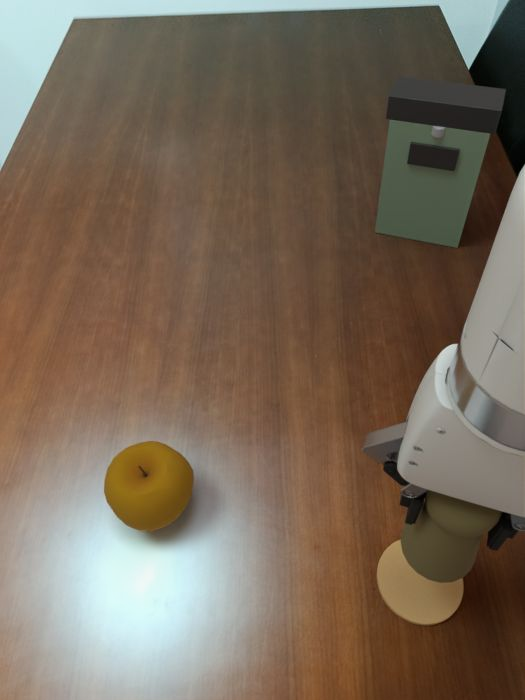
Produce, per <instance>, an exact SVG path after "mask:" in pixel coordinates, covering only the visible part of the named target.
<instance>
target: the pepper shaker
mask: <svg viewBox="0 0 525 700" xmlns="http://www.w3.org/2000/svg"><path fill="white" fill-rule="evenodd" d="M501 515H502V511H499V510H495V509H492V508H488V507H485V506H481V505H478V504H474V503H471V502H468V501H464V500H461V499H457V498H454V497H451V496H447V495H444V494H441V493H437V492H434V491H431V490H428V491H426V493H425V498H424V503H423V506H422V509H421V511H420V514H419V516H418V518H417V521H416V523H415V524H413V523H412V525H410V524H407V523H405V524H404V526H403V527H402V529H401V535H400V539H401V541H400V542H401V547H402V552H403V554H404V556H405V558H406V560H407V562H408V564H409V565H410V566H411V567H412V568H413V569H414V570H415V571H416V572H417V573H418V574H420V575H421V576H423V577H425V578H426V579H428V580H432V581H435V582H439V583H446V582H454V581H456V580H459V579H461V578H463V579H464V577H466V576H467V574H468V573H470V571H471V570H472V568H473V566H474V564H475V562H476V559H477V556H478V552H479V548H480V546H481V543H482V538H483V535H484V534H486V533H487V534H488V532H489V531H490V530H491V529H492V528H493V527H494V526H495V525H496V524H497V523H498V521H499V519H500V517H501Z"/></svg>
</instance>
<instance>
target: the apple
mask: <svg viewBox="0 0 525 700" xmlns="http://www.w3.org/2000/svg"><path fill="white" fill-rule="evenodd" d="M194 478H195V476H194V469H193V467H192V465H191V463H190V462H189V460H188V459H187V458H186V457H185V456H184V455H183V454H182V453H180V452H179V451H177V450H176V449H175V448H173V447H172V446H169V445H168V444H166V443H163V442H160V441H158V440H157V441H156V440H147V441H140V442H137V443H134V444H132V445H130V446H127V447H125V448H124V449H122V450H121V451H119V452H118V453H117V454H116V455H115V456H114V457H113V458H112V460H111V461H110V463H109V465H108V467H107V469H106V473H105V476H104V481H103V482H104V483H103V493H104V497H105V500H106V503H107V504H108V506H109V507H110V509H111V510H112V512H113V513H114V515H115V516H116V518H117V519H119V521H121V522H122V523H123V524H124V525H125V526H127V527H129V528H131V529H133V530H136V531H141V532H154V531H157V530H160V529H163V528H165V527H167V526H170V525H171V524H172V523H174V522H175V521H176V520H177V519H178V518H179V517H180V516H181V515H182V514H183V512H184V510H185V509H186V508H187V506H188V504H189V502H190V500H191V497H192V494H193V488H194V480H195V479H194Z"/></svg>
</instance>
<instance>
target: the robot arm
mask: <svg viewBox="0 0 525 700" xmlns="http://www.w3.org/2000/svg"><path fill="white" fill-rule="evenodd" d="M361 452H362V453H363V454H364V455H366V456H367V457H368V458H369V459H370V460H372V461H374V462H375V463H376V464H377V465H380V464H381V465H382V466H383V467H382V470H383V472H384V473H385V474H386V475H388V476H389V477H390V478H392V480H394V481H395V482H396V483H397V484H399V485H400V486H401V487H400V492H399V493H400V498H399V499H400V501H399V506H402V507H404V508H407V510H406V515H405V520H404V523H405V524H406V523H407V524H410V525H412V523H413V524H415V523H416V521H417V518H418V516H419V514H420V511H421V509H422V506H423V503H424V501H425V493H426V491H428V490H431V491H434V492H437V493H441V494H444V495H447V496H451V497H454V498H457V499H461V500H464V501H468V502H471V503H474V504H478V505H481V506H485V507H488V508H492V509H495V510H499V511H502V515H501V517H500V519H499V521H498V523H497V524H496V525H495V526H494V527H493V528H492V529H491V530H490V531H489V532H487V536H486V547H488V549H489V550H492V551H495V552H498V550H499V549H500V548H501V547H502V546H503V544H504V543H505V542H506V541H507V539H511V540H513V539H514V537H515V536H516V535H517V534H518V533H519V531H520V532H525V164H523V166H522V168H521V170H520V171H519V173H518V176H517V178H516V180H515V183H514V185H513V188H512V190H511V192H510V195H509V198H508V201H507V204H506V207H505V210H504V213H503V215H502V218H501V221H500V224H499V227H498V229H497V232H496V235H495V238H494V241H493V244H492V247H491V249H490V253H489V255H488V258H487V260H486V264H485V267H484V269H483V273H482V274H481V278H480V280H479V283H478V286H477V289H476V292H475V295H474V298H473V300H472V303H471V306H470V309H469V312H468V314H467V317H466V320H465V323H464V325H463V328H462V331H461V334H460V337H459V340H458V342H457V343H452V344H450V345H448V346H445V348H443V349H442V350H441V351H440V353H439V354H438V355H437V356H436V357H435V358H434V360H433V362H432V363H431V365H430V366H429V368H428V369H427V371H426V372H425V374H424V376H423V378H422V380H421V381H420V383H419V386H418V388H417V390H416V393H415V395H414V396H413V400H412V402H411V405H410V407H409V410H408V413H407V416H406V419H405V421H403V422H400V423H396V424H393V425H390V426H386V427H382V428H380V429H379V428H378V429H376V430H373V431H370V432H367V433H365V436H364V440H363V442H362V447H361Z"/></svg>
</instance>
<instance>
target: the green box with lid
mask: <svg viewBox="0 0 525 700" xmlns="http://www.w3.org/2000/svg"><path fill="white" fill-rule="evenodd" d="M506 90H507V89H506V88H499V87H491V86H485V85H484V86H483V85H475V84H468V83H458V82H452V81H451V82H450V81H441V80H434V79H427V78H417V77H409V76H401V75H397V76H396V78H395V80H394V82H393V85H392V88H391V90H390V93H389V94H388V99H387V107H386V113H385V114H386V115H385V119H386V120H389V124H388V131H387V138H386V146H385V154H384V161H383V168H382V175H381V183H380V189H379V196H378V197H379V198H378V204H377V213H376V219H375V227H374V233H376V234H382V235H386V236H387V235H388V236H390V237H391V236H392V237H398V238H402V239H407V240H413V241H418V242H423V243H429V244H434V245H440V246H445V247H450V248H455V249H458V248H459V245H460V241H461V238H462V235H463V231H464V227H465V224H466V220H467V216H468V213H469V210H470V206H471V203H472V201H473V196H474V193H475V189H476V185H477V182H478V180H479V179H478V178H479V176H480V172H481V169H482V165H483V161H484V157H485V154H486V151H487V147H488V144H489V141H490V137H491V135H496V132H497V129H498V125H499V122H500V118H501V116H502V111H503V107H504V102H505V98H506V97H505V96H506Z"/></svg>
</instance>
